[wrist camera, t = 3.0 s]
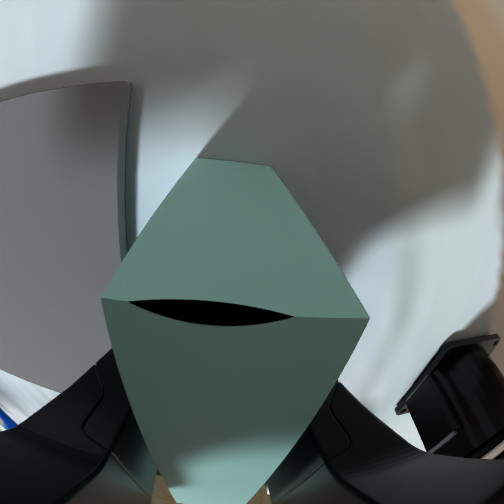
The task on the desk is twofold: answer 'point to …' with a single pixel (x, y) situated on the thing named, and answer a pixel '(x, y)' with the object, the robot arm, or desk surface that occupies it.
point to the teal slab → (228, 329)
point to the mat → (60, 227)
